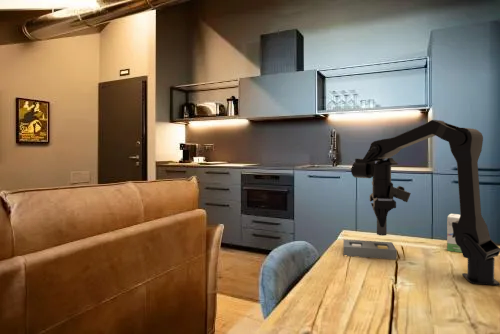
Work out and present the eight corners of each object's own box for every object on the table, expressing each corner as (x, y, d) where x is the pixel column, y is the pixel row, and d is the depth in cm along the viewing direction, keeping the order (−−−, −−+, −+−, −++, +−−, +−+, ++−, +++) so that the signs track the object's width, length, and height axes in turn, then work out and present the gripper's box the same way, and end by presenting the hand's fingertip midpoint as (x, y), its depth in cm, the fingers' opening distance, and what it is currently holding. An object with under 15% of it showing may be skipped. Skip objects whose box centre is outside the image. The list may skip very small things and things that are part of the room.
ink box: (463, 253, 111) (464, 218, 111) (446, 250, 114) (446, 216, 114) (465, 247, 118) (466, 214, 118) (449, 245, 121) (449, 213, 121)
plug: (387, 235, 108) (387, 211, 108) (377, 235, 109) (377, 210, 109) (385, 233, 111) (385, 209, 111) (376, 233, 112) (376, 209, 112)
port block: (396, 259, 104) (396, 248, 104) (343, 255, 109) (343, 245, 108) (391, 250, 114) (391, 240, 114) (343, 247, 118) (343, 238, 118)
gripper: (414, 181, 98) (414, 233, 99) (403, 177, 116) (402, 222, 117) (374, 180, 101) (374, 231, 102) (369, 177, 119) (369, 220, 120)
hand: (381, 226), depth 110 cm, fingers closed on plug, 3 cm apart
